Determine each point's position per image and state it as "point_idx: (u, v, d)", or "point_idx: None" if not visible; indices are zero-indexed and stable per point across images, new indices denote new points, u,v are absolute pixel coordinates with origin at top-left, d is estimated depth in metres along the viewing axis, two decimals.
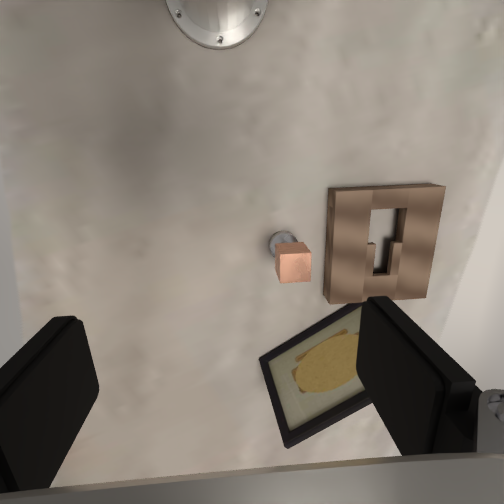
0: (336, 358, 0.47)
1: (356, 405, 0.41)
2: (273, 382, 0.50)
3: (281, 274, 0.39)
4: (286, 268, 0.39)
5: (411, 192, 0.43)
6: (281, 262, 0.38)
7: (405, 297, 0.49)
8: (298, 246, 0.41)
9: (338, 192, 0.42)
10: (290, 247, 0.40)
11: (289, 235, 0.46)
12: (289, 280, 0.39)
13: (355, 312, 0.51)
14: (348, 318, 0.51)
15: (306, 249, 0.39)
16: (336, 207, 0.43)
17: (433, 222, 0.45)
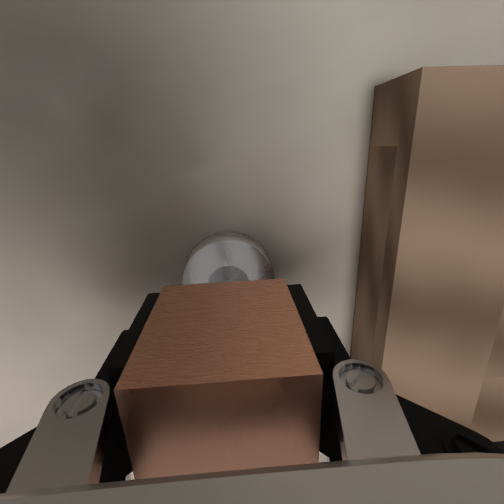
0: None
1: None
2: None
3: None
4: (171, 461, 0.06)
5: None
6: (132, 432, 0.06)
7: None
8: (255, 304, 0.09)
9: (431, 71, 0.10)
10: (215, 315, 0.08)
11: (243, 247, 0.14)
12: None
13: None
14: None
15: (294, 335, 0.07)
16: (417, 138, 0.11)
17: None
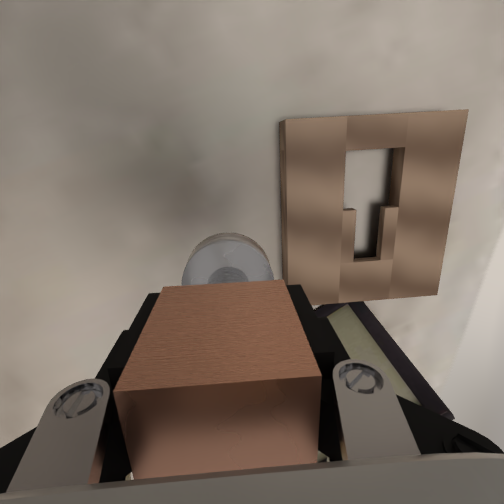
0: None
1: None
2: None
3: None
4: (170, 462, 0.06)
5: (411, 120, 0.26)
6: (132, 434, 0.06)
7: (405, 294, 0.32)
8: (255, 305, 0.09)
9: (289, 120, 0.25)
10: (214, 316, 0.08)
11: (242, 248, 0.14)
12: None
13: (330, 318, 0.34)
14: None
15: (292, 337, 0.07)
16: (288, 147, 0.26)
17: (448, 172, 0.28)
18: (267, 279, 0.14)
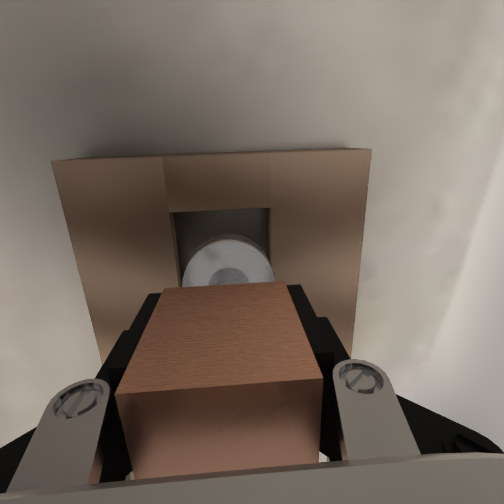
0: None
1: None
2: None
3: None
4: (172, 464, 0.06)
5: (275, 165, 0.15)
6: (133, 436, 0.06)
7: None
8: (256, 307, 0.09)
9: (59, 163, 0.15)
10: (215, 318, 0.08)
11: (243, 249, 0.14)
12: None
13: None
14: None
15: (294, 339, 0.07)
16: (66, 207, 0.15)
17: (346, 246, 0.17)
18: (268, 280, 0.14)
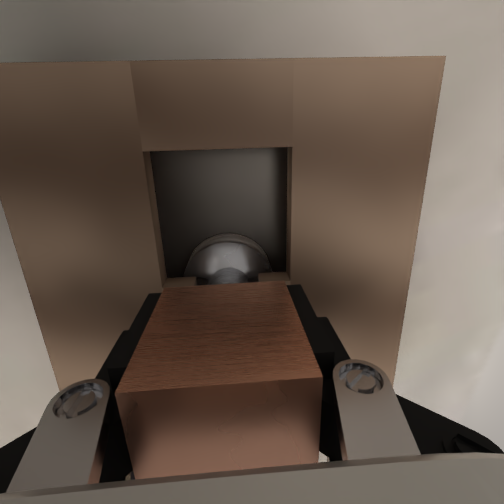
0: None
1: None
2: None
3: None
4: (172, 463, 0.06)
5: (302, 79, 0.10)
6: (133, 435, 0.06)
7: None
8: (255, 306, 0.09)
9: None
10: (215, 317, 0.08)
11: (243, 249, 0.14)
12: None
13: None
14: None
15: (293, 338, 0.07)
16: None
17: (399, 208, 0.12)
18: None
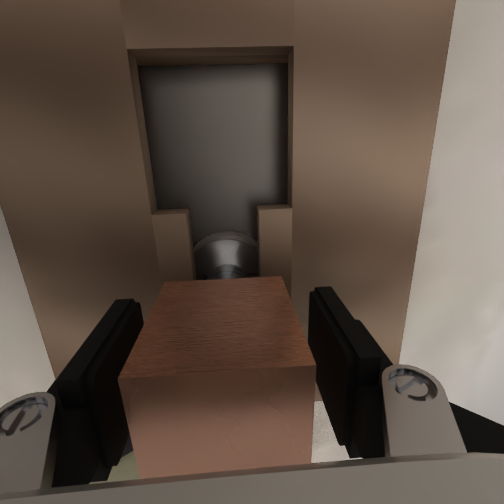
0: None
1: None
2: None
3: (146, 474, 0.07)
4: (172, 448, 0.07)
5: None
6: (135, 420, 0.06)
7: None
8: (253, 300, 0.09)
9: None
10: (214, 310, 0.08)
11: (242, 246, 0.14)
12: None
13: None
14: None
15: (289, 329, 0.07)
16: None
17: (412, 122, 0.11)
18: None
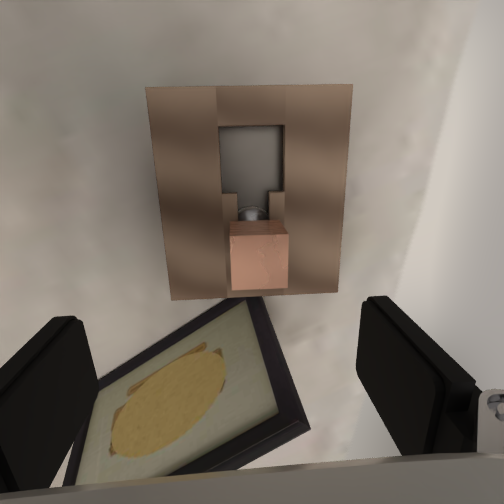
0: (175, 394, 0.27)
1: None
2: (85, 430, 0.30)
3: (233, 274, 0.21)
4: (242, 263, 0.21)
5: (289, 94, 0.23)
6: (232, 251, 0.20)
7: (302, 290, 0.29)
8: (268, 224, 0.23)
9: (150, 89, 0.23)
10: (253, 226, 0.22)
11: (260, 212, 0.28)
12: (249, 285, 0.21)
13: (226, 315, 0.31)
14: (214, 325, 0.31)
15: (281, 229, 0.21)
16: (151, 119, 0.23)
17: (336, 155, 0.25)
18: None
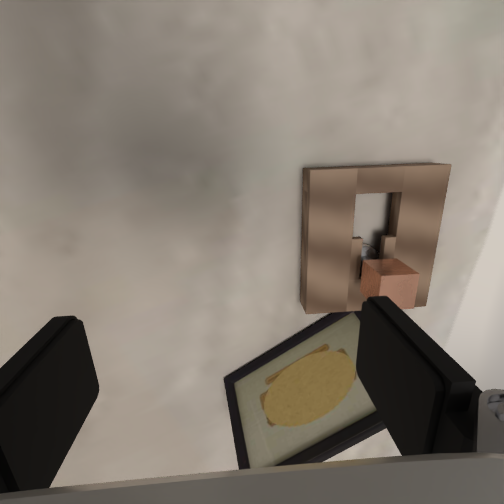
0: (314, 382, 0.38)
1: (335, 447, 0.32)
2: (237, 410, 0.41)
3: None
4: (387, 293, 0.31)
5: (407, 172, 0.34)
6: (382, 285, 0.31)
7: None
8: (394, 263, 0.33)
9: (313, 171, 0.33)
10: (386, 265, 0.33)
11: (371, 249, 0.38)
12: None
13: (339, 323, 0.41)
14: (330, 330, 0.41)
15: (409, 269, 0.32)
16: (311, 191, 0.34)
17: (435, 211, 0.35)
18: None
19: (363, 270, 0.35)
